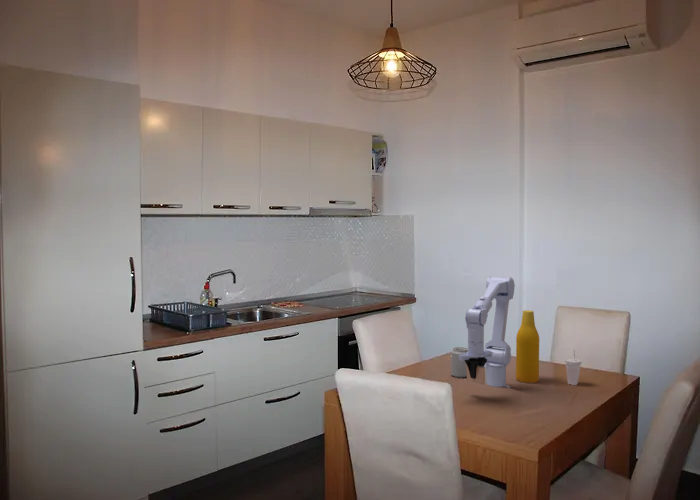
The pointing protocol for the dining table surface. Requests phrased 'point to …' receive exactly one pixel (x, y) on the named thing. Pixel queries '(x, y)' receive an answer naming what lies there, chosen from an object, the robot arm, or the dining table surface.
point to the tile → (478, 375)
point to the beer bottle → (527, 350)
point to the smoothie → (573, 369)
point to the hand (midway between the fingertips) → (475, 377)
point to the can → (458, 363)
